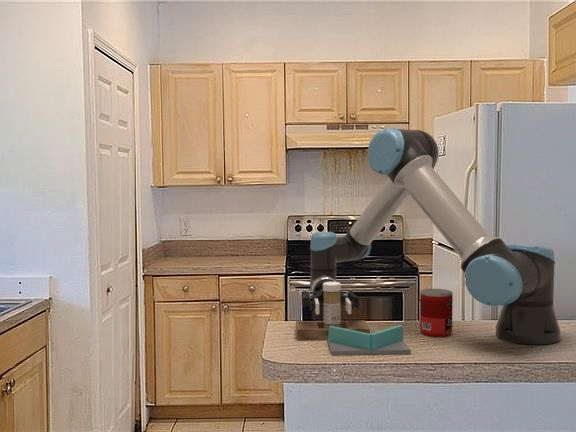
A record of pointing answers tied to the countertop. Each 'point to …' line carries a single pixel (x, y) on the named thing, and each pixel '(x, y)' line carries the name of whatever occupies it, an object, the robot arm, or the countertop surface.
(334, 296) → the sprinkles bottle
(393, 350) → the v cradle
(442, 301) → the canned food
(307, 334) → the brown hollow frame
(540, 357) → the countertop surface
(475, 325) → the countertop surface
